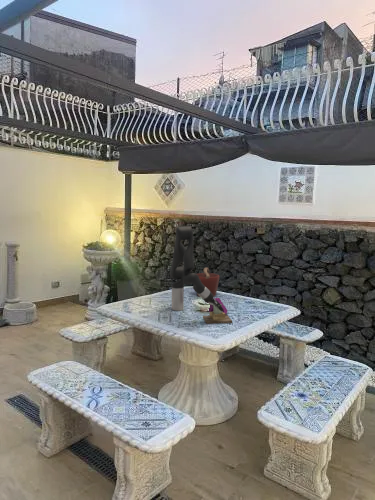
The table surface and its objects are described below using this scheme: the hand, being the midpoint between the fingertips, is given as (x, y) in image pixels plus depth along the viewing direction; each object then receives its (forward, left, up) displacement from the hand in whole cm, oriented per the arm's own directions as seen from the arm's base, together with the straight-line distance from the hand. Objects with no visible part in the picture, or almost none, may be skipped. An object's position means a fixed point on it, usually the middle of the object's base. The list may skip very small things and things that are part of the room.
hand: (219, 308), depth 260 cm
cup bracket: (0, -1, -8) cm, 8 cm away
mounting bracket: (-18, +3, -9) cm, 20 cm away
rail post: (0, -1, -7) cm, 7 cm away
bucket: (-73, +3, -8) cm, 73 cm away
